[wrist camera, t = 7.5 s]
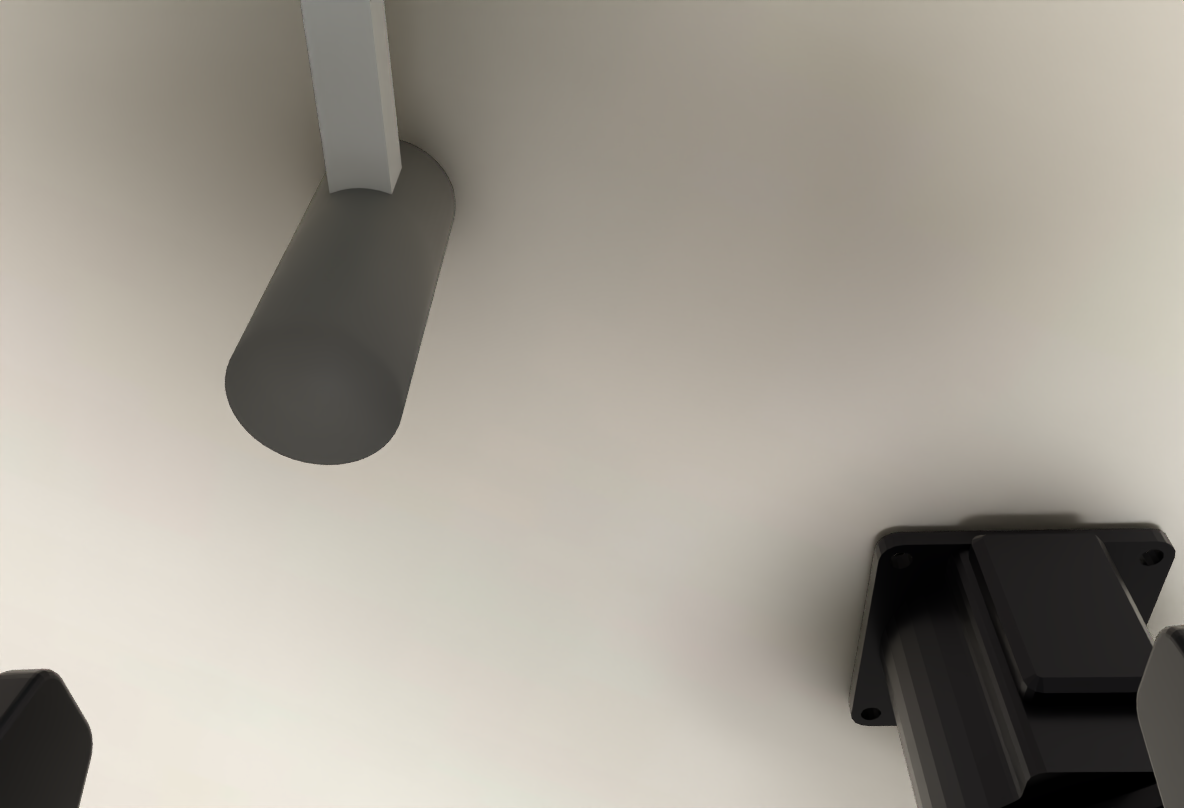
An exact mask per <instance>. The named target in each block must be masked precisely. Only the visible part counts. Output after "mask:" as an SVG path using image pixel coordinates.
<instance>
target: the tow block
mask: <svg viewBox="0 0 1184 808" xmlns="http://www.w3.org/2000/svg"><path fill="white" fill-rule="evenodd" d="M300 3H301V9H302V16H303V23H304V29H305V36H306V42H307V49H308V55H309V62H310V68H311V75H312V81H313V88H314V95H315V101H316V108H317V114H318V121H319V127H320V134H321V140H322V147H323V153H324V160H325V167H326V173H325V175H324V177H323V179H322V181H321V183H320V185H319V187H318V188H317V190H316V192H315V194H314V196H313V198H312V200H311V202H310V204H309V206H308V208H307V210H306V212H305V214H304V216H303V218H302V220H301V222H300V224H299V226H298V228H297V230H296V232H295V233H294V235H293V237H292V239H291V241H290V243H289V245H288V247H287V249H286V251H285V253H284V255H283V257H282V259H281V261H280V263H279V265H278V267H277V269H276V271H275V273H274V275H273V276H272V278H271V280H270V282H269V284H268V286H267V288H266V290H265V292H264V294H263V296H262V298H261V300H260V302H259V304H258V306H257V308H256V310H255V312H254V314H253V316H252V318H251V320H250V321H249V323H248V325H247V327H246V329H245V331H244V333H243V335H242V337H241V339H240V341H239V343H238V345H237V347H236V349H235V351H234V353H233V355H232V357H231V359H230V361H229V364H228V366H227V370H226V375H225V389H226V395H227V399H228V402H229V405H230V407H231V409H232V411H233V413H234V415H235V416H236V418H237V419H238V421H239V422H240V424H241V425H242V426H243V427H244V428H245V429H246V431H247V432H248V433H250V434H251V435H252V436H253V437H254V438H255V439H256V440H258V441H259V442H260V443H262V444H263V445H265V446H266V447H268V448H269V449H271V450H273V451H275V452H277V453H279V454H281V455H283V456H286V457H289V458H291V459H294V460H298V461H302V462H306V463H312V464H321V465H338V464H345V463H351V462H355V461H358V460H361V459H364V458H366V457H368V456H370V455H372V454H374V453H376V452H377V451H378V450H380V449H381V448H383V447H384V446H385V445H386V444H387V443H388V442H389V441H390V440H391V438H392V437H393V435H394V434H395V432H396V430H397V428H398V426H399V424H400V420H401V417H402V413H403V410H404V406H405V402H406V398H407V394H408V391H409V387H410V383H411V379H412V375H413V372H414V368H415V364H416V360H417V356H418V353H419V349H420V345H421V341H422V338H423V334H424V330H425V326H426V322H427V319H428V315H429V311H430V307H431V303H432V300H433V296H434V292H435V288H436V284H437V281H438V277H439V273H440V269H441V265H442V262H443V258H444V254H445V250H446V246H447V243H448V239H449V235H450V231H451V228H452V224H453V220H454V215H455V196H454V192H453V188H452V185H451V183H450V181H449V178H448V177H447V175H446V173H445V172H444V170H443V169H442V168H441V166H440V165H439V164H438V163H437V162H436V161H435V160H434V159H433V158H432V157H431V156H430V155H428V154H427V153H426V152H424V151H423V150H421V149H419V148H418V147H416V146H414V145H412V144H409V143H407V142H404V141H400V140H399V136H398V127H397V117H396V108H395V98H394V89H393V80H392V70H391V61H390V52H389V42H388V33H387V23H386V14H385V5H384V0H300Z"/></svg>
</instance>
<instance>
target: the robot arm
mask: <svg viewBox="0 0 1184 808" xmlns="http://www.w3.org/2000/svg"><path fill="white" fill-rule="evenodd" d="M1148 550H1150V551H1148ZM1147 551H1148V552H1147ZM898 553H904V554H903V555H900V556H894V555H895V554H898ZM1174 558H1175V549H1174V548H1173V546H1172V544H1171V542H1170V541H1169V539H1168V537H1167V536H1166V534H1165V533H1164V532H1162V531H1160V530H1157V529H1088V530H1016V531H944V532H898V533H891V534H889V535H887V536H885V537H883V538H882V539H881V540H880V541H878V542H877V545H876V547H875V550H874V556H873V562H872V568H871V573H870V579H869V585H868V591H867V597H866V602H865V608H864V614H863V620H862V626H861V631H860V637H859V643H858V649H857V655H856V660H855V666H854V672H853V678H852V684H851V689H850V695H849V707H850V712H851V717H852V719H853V720H854V721H855V723H858V724H860V725H865V726H897V727H898V731H899V736H900V740H901V744H902V748H903V752H904V756H905V760H906V764H907V768H908V772H909V776H910V780H911V784H912V788H913V792H914V796H915V800H916V804H917V808H1184V625H1178V626H1168V627H1165V628H1164V629H1163V630H1162V631H1161V632H1159V634H1158V636H1157V638H1156V640H1155V642H1154V640H1153V638H1152V636H1151V634H1150V632H1149V630H1148V628H1147V626H1146V625H1147V623H1148V621H1149V618H1150V616H1151V613H1152V611H1153V608H1154V606H1155V604H1156V601H1157V599H1158V596H1159V594H1160V592H1161V589H1162V587H1163V584H1164V582H1165V579H1166V577H1167V575H1168V572H1169V570H1170V567H1171V565H1172V562H1173V560H1174ZM92 746H93V742H92V734H91V729H90V726H89V724H88V722H87V720H86V719H85V717H84V715H83V714H82V712H81V710H80V709H79V707H78V705H77V703H76V702H75V700H74V698H73V697H72V695H71V693H70V692H69V690H68V688H67V687H66V685H65V683H64V681H63V680H62V678H61V677H60V676H59V675H58V674H57V673H56V672H54V671H52V670H50V669H28V670H11V671H6V672H3V673H1V674H0V808H79V805H80V801H81V797H82V793H83V789H84V785H85V781H86V777H87V773H88V768H89V764H90V760H91V755H92Z"/></svg>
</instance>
